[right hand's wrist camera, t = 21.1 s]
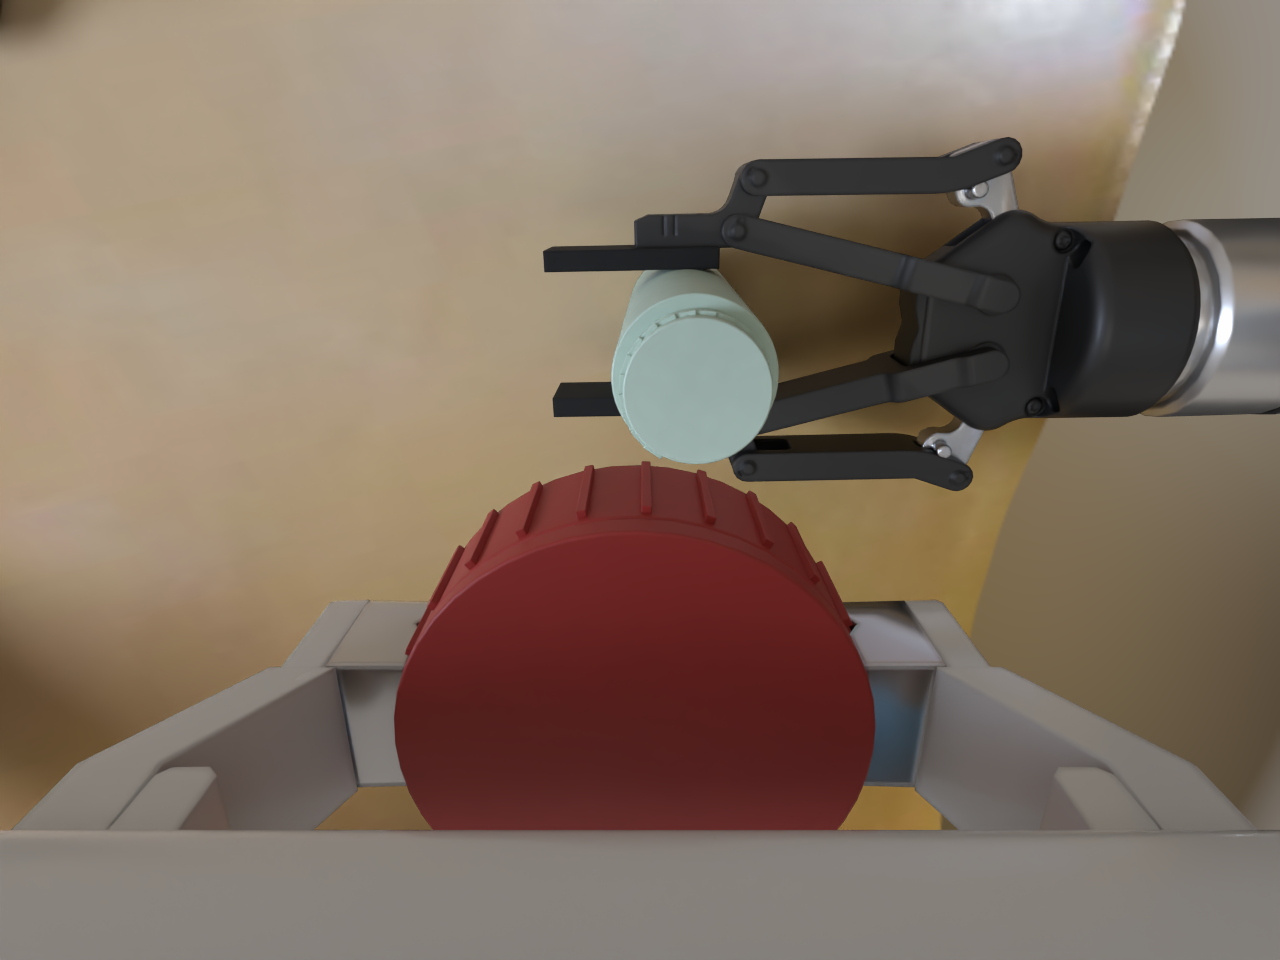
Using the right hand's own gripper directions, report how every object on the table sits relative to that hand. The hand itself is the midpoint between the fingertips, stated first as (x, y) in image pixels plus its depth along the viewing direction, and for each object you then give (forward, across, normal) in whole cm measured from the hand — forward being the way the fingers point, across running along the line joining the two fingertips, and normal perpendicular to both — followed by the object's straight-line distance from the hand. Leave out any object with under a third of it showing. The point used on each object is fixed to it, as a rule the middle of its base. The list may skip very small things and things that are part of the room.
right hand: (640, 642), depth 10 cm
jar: (+27, +2, +1) cm, 27 cm away
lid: (-2, 0, 0) cm, 2 cm away
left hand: (+21, -3, +1) cm, 21 cm away
